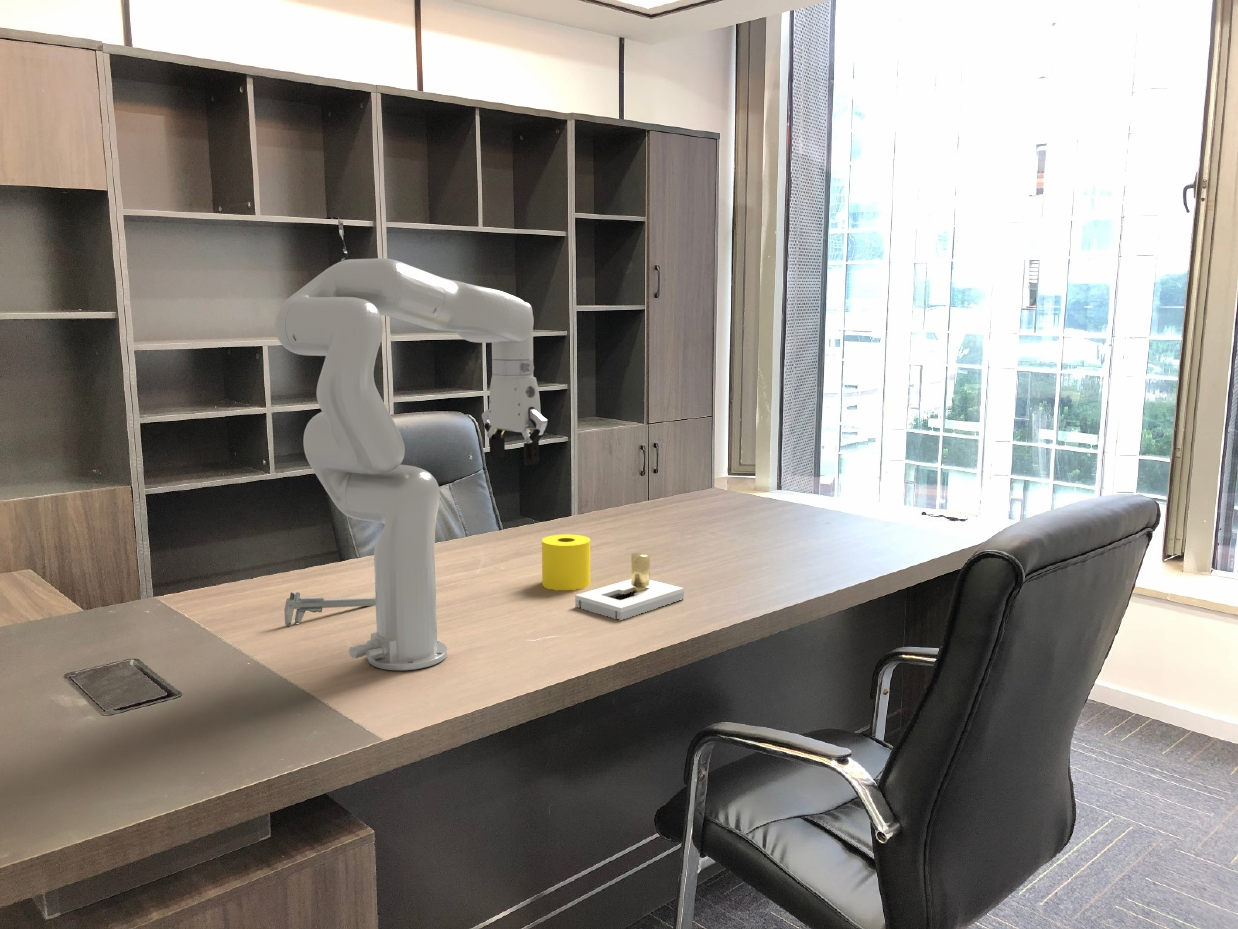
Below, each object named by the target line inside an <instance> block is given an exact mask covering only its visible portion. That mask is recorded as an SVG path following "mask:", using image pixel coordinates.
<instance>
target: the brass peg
mask: <svg viewBox="0 0 1238 929" xmlns="http://www.w3.org/2000/svg"><path fill="white" fill-rule="evenodd" d="M630 556H631V560H630V561H631V563H630V565H631V567H630V568H631V569H630V572H631V573H630V579H631V585H632V586H635V591H634V592H632V593H631V594H629V597H633V596H634V593H637V592H640V591H643V590H645V587H647V586H649V585H650V580H651V579H650V575H651V574H650V571H651V570H650V569H651V561H650V560H651V559H650V558H651V555H650V553H647V552H633V553H631V555H630Z"/></svg>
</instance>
